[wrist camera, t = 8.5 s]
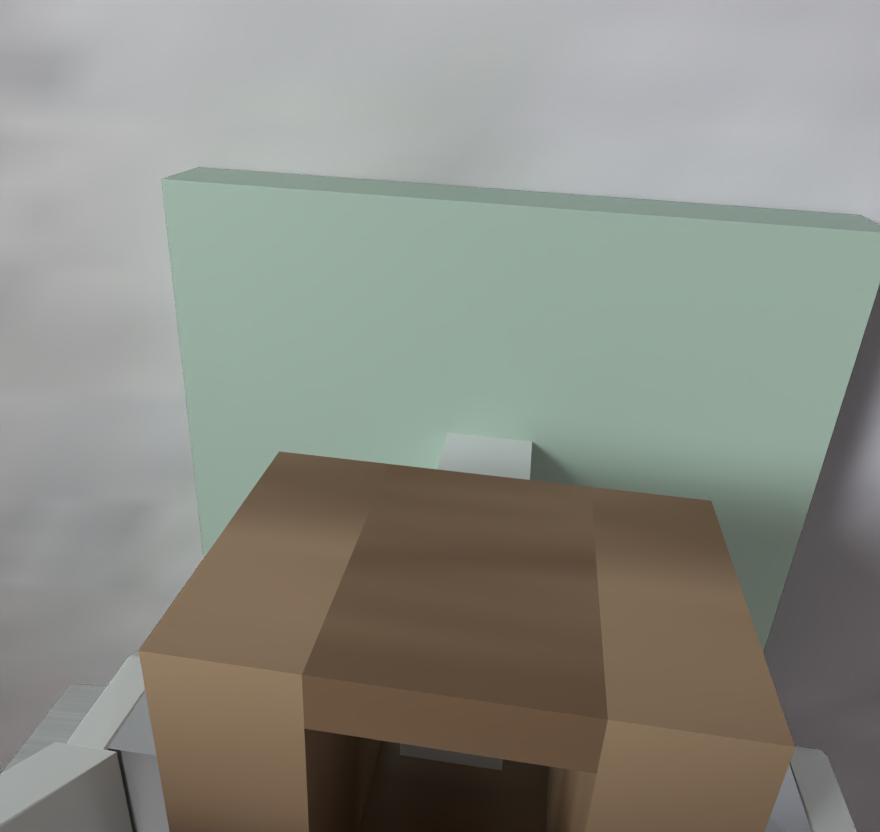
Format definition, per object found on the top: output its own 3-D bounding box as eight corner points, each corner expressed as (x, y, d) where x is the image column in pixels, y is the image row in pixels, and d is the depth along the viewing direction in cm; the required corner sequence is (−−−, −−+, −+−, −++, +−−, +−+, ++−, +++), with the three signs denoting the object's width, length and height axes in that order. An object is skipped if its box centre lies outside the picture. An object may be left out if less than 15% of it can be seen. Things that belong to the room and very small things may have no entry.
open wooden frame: (279, 451, 11) (110, 691, 7) (710, 500, 10) (812, 797, 6) (295, 746, 13) (181, 1044, 9) (637, 800, 13) (673, 1145, 9)
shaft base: (241, 647, 19) (123, 872, 14) (198, 167, 14) (-19, 234, 9) (714, 713, 18) (781, 987, 13) (860, 214, 13) (1074, 327, 8)
